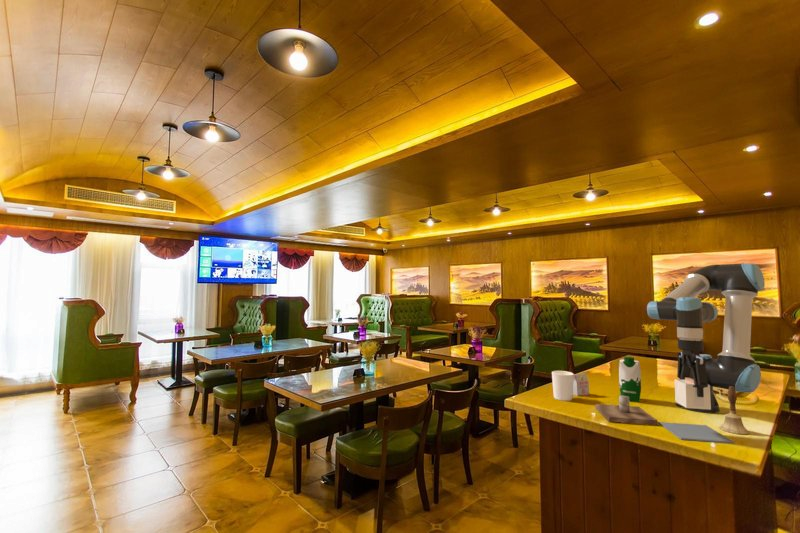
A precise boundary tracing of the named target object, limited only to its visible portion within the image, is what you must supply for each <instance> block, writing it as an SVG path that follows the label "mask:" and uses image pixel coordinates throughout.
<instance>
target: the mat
mask: <svg viewBox="0 0 800 533" xmlns="http://www.w3.org/2000/svg"><path fill="white" fill-rule="evenodd" d="M658 425H660V426H662V427H663V428H665V429H666V430H667V431H668V432H669V433H671V434H673V435H674V436H675V437H677V438H678V439H680V440H681V441H694V442H707V443H708V442H709V443H717V444H718V443H720V444H731V445H732V444H733V445H734V444H735V441H734V440H732V439H730V438H728V437H727V436H725V435H723V434H722V433H720V432H718V431H717V430H716V429H714V428H712V427H710V426H708V425H706V424H696V423H695V424H694V423H691V424H690V423H679V422H678V423H676V422H665V421H658Z"/></svg>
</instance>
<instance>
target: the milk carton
mask: <svg viewBox="0 0 800 533" xmlns="http://www.w3.org/2000/svg"><path fill="white" fill-rule="evenodd" d="M623 358H624V359H623ZM623 358H622V359H619V364H618V379H619V380H618V384H619V391H620V393H619V394H620V395H623V396H628V397H629V402H632V401H633V403H640V399H641V394H642V379H641V378H642V377H641V364H640V361H639V360H635V358H634V357H632V356H624V357H623Z"/></svg>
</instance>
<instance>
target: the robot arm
mask: <svg viewBox="0 0 800 533" xmlns="http://www.w3.org/2000/svg"><path fill="white" fill-rule="evenodd" d="M764 289H765V278H764V274H763V271H762V270H761V268H760V266H759V265H757V264H755V263H749V262H747V263H746V262H745V263H744V262H742V263H728V264H727V263H726V264H725V263H724V264H709V265H706V266H703V267H701V268H698V269H696V270H694V271H692V272H691V273H689V274H687V276H686V277H685V278H684V280H683V282H682V283H681V284H680V285H678V286H677V287H676V288H675V289H673V290H672V291H671V292H670V293H668V294H667V295H665V297H664V298H662V299H661V300H659V301H658V300H654V301H653V300H652V301H649V302H648V303H647V305H646V311H647V316H648V317H649V318H650V319H652V320H653V319H655V320H661V321H663V320H664V321H676V337H677V338H678V339H677V349H679V350H681V351H682V352H680V351H678V352H677V374H676V377H677V378H678V379H680V380H685V377H686V378H691V379H694V383H695V385H694V386H693V387H694V405H695V406H704V388H705V387H708V385H710V399H711V410H709V409H693V408H685V407H684V406H682V405H680V404H678V403H676V402H675V405H676V406H677V407H679V408H682V409H684V410H689V411H693V412H699V413H707V414H708V413H709V414H710V413H719V412H720V405H719V403H718V400H717V398H716V396H715V394H714V388H717V389H718V388H719V389H722V390H723V389H724V390H728V389H729V386H732V387H734V389H735V391H736V393H737V392H738V393H740V392H741V393H749V394H750V393H753V392H755V391H756V390H757V389H758V387H759V385H760V382H761V377H762V371H761V367H760V365H758V364H757V363H756V360H755V359H754V358H753V357H752V356H751V340H752V339H751V338H752V320H753V319H752V318H753V317H752V316H753V315H752V314H753V299H755V298H756V297H757V296H758V294H759V292H761V291H764ZM708 291H721V295H723V296H724V298H725V300H724V301H725V302H724V315H723V316H724V318H723V319H724V321H723V335H722V336H723V337H722V351H721V352H719V353H718V354H717V357H716V359H715V358H713V357H712V355H711V354H707V353H705V354H701V353H700V352H703V351H705V350H704V349H705V348H704V341H703V338H704V331H705V330H704V329H703V328H704V327H703V323H710V322H712V321H715V320H716V319H717V317H718V315H719V310H718V308H717V307H716V306H715V305H714V304H712V303H710V302H706V301H702V299H701V297H698V296H699V295H700V294H704V293H706V292H708Z"/></svg>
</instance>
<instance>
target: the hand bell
mask: <svg viewBox="0 0 800 533" xmlns="http://www.w3.org/2000/svg"><path fill="white" fill-rule="evenodd" d="M726 395H727V399H728V402H729V413H726V414H725V415H724V422H722V424H721V425H720V426H719V429H720V430H722V431H723V432H726V433H731V434H735V435H742V436H743V435H749V434H750V431H749V430H748V429H747V428H746V427H745V425H744V423H743V420H742V416H740V415H738V414H737V410H736V402H737V398H738V396H737V391H735V389H734V387H732V386H729V389H727V394H726Z"/></svg>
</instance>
